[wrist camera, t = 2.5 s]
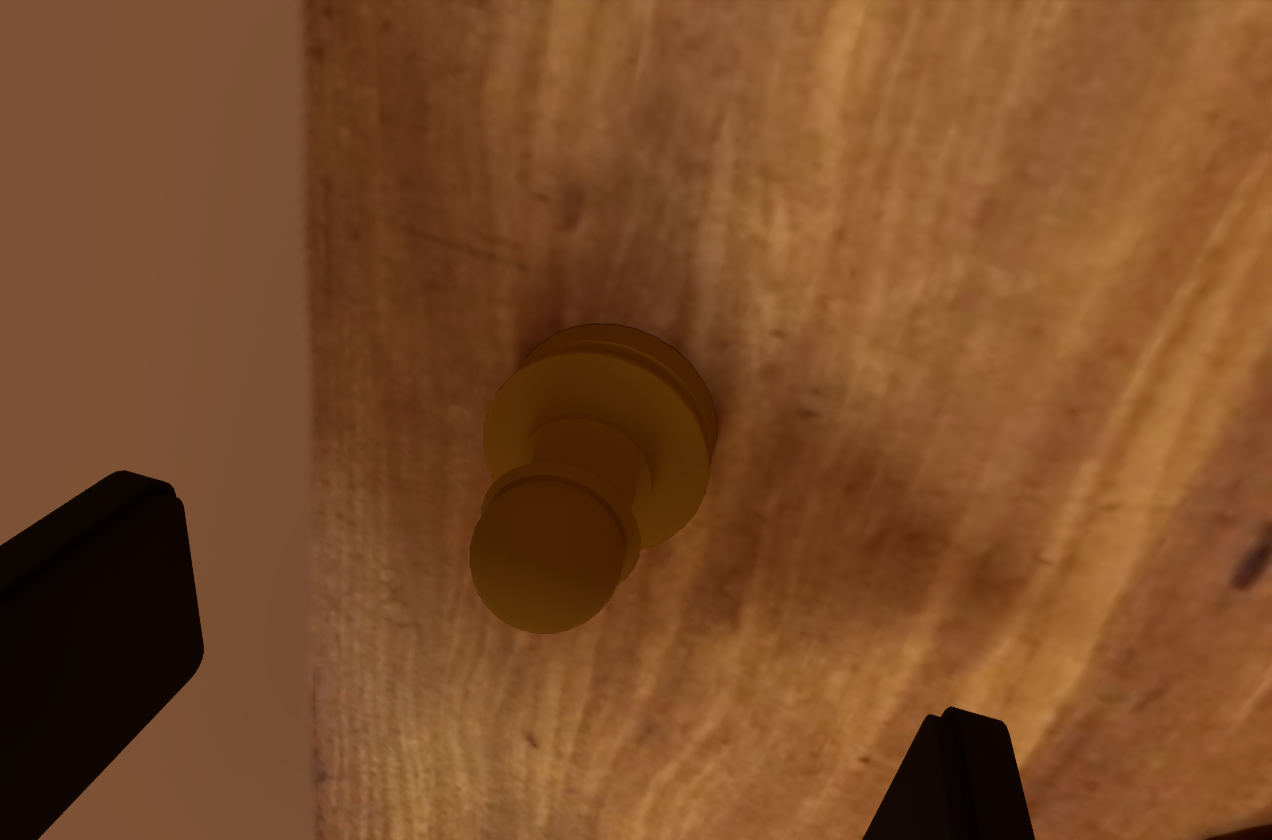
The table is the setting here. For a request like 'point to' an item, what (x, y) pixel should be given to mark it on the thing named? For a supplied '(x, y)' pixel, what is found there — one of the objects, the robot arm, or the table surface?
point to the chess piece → (587, 472)
